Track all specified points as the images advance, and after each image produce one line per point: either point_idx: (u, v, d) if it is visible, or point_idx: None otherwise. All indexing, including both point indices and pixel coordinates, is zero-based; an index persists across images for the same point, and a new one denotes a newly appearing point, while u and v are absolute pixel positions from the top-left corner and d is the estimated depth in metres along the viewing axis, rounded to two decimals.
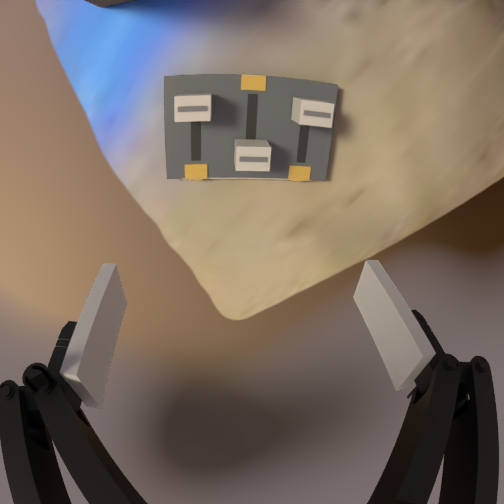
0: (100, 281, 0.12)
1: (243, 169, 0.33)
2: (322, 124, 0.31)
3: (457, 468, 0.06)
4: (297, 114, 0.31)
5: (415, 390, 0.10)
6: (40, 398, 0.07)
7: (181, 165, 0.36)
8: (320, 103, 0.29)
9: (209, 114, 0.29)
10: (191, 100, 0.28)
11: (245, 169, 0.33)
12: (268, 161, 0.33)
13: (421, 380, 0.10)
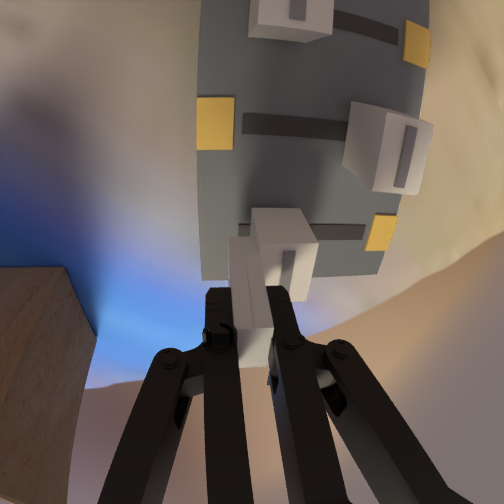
0: (235, 250, 0.15)
1: (419, 179, 0.13)
2: None
3: (373, 466, 0.07)
4: (299, 33, 0.10)
5: (270, 378, 0.11)
6: (210, 354, 0.10)
7: (364, 254, 0.21)
8: None
9: (304, 244, 0.14)
10: (266, 277, 0.15)
11: (420, 175, 0.13)
12: (415, 123, 0.11)
13: (269, 367, 0.11)
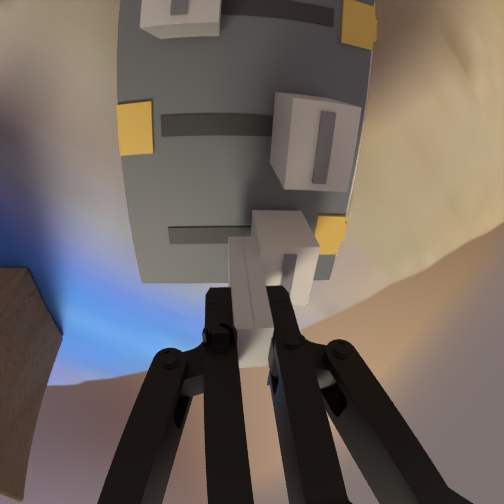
0: (235, 250, 0.15)
1: (347, 173, 0.12)
2: None
3: (373, 466, 0.07)
4: (193, 27, 0.09)
5: (270, 378, 0.11)
6: (210, 354, 0.10)
7: None
8: None
9: (305, 248, 0.14)
10: (267, 281, 0.15)
11: (348, 168, 0.12)
12: (334, 107, 0.10)
13: (269, 367, 0.11)
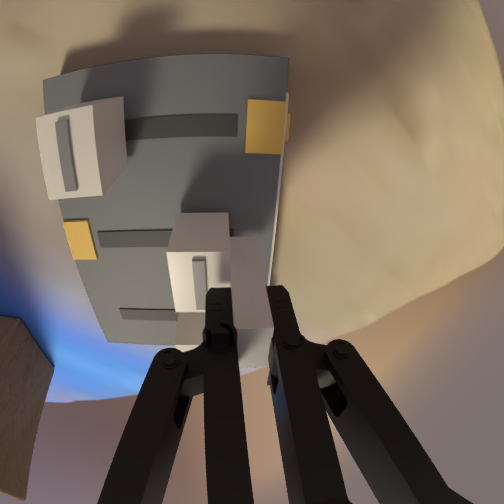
0: (235, 251, 0.15)
1: None
2: (88, 133, 0.10)
3: (373, 466, 0.07)
4: None
5: (270, 377, 0.11)
6: (210, 354, 0.10)
7: None
8: (43, 153, 0.10)
9: None
10: None
11: None
12: (203, 255, 0.13)
13: (269, 367, 0.11)
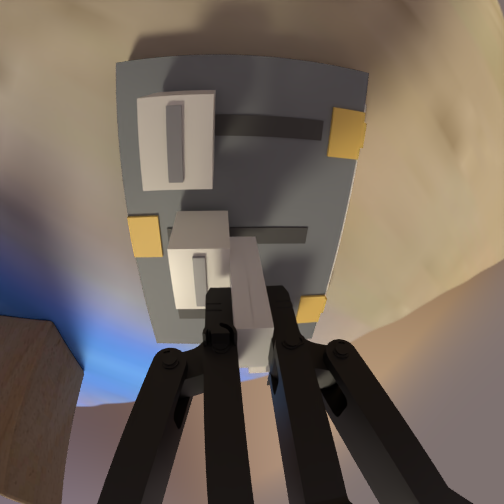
0: (235, 251, 0.15)
1: None
2: (205, 123, 0.10)
3: (373, 466, 0.07)
4: None
5: (270, 377, 0.11)
6: (210, 354, 0.10)
7: None
8: (143, 139, 0.10)
9: None
10: None
11: None
12: (203, 252, 0.14)
13: (269, 367, 0.11)
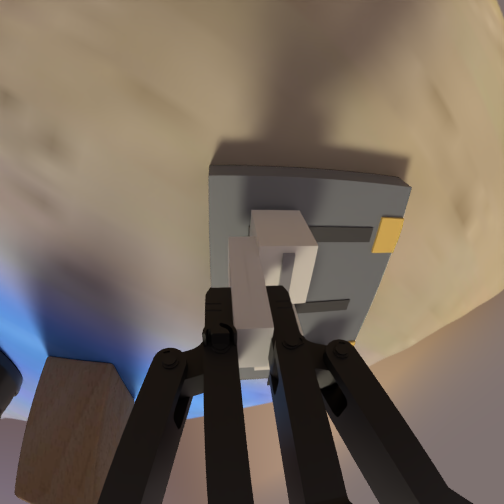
0: (235, 251, 0.15)
1: None
2: (309, 264, 0.15)
3: (373, 466, 0.07)
4: None
5: (270, 377, 0.11)
6: (210, 354, 0.10)
7: None
8: None
9: None
10: None
11: None
12: None
13: (269, 367, 0.11)
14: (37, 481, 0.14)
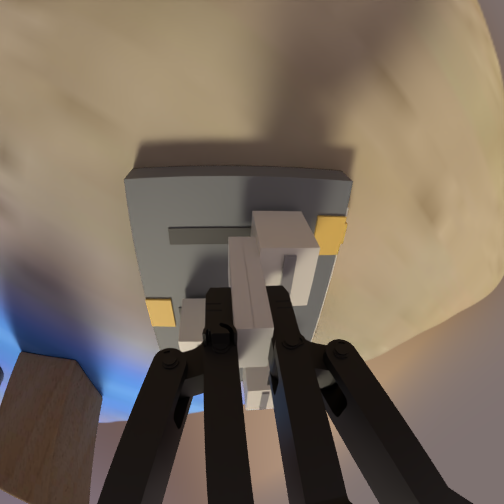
0: (235, 250, 0.15)
1: None
2: (310, 266, 0.15)
3: (373, 466, 0.07)
4: None
5: (270, 377, 0.11)
6: (210, 354, 0.10)
7: None
8: None
9: None
10: (252, 401, 0.23)
11: None
12: None
13: (269, 367, 0.11)
14: (3, 467, 0.14)
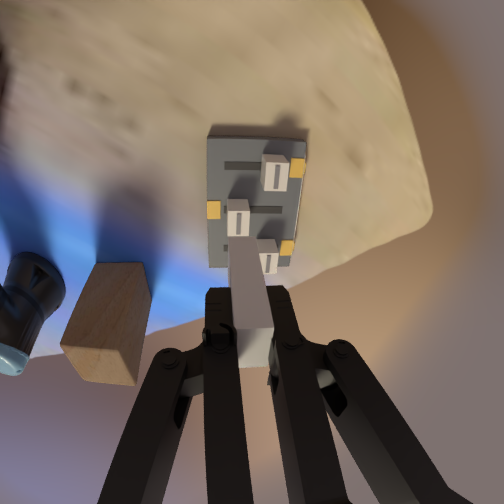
0: (235, 251, 0.15)
1: (247, 230, 0.41)
2: (286, 171, 0.37)
3: (373, 466, 0.07)
4: None
5: (270, 377, 0.11)
6: (210, 354, 0.10)
7: (280, 257, 0.50)
8: (266, 174, 0.37)
9: (273, 253, 0.44)
10: (261, 264, 0.45)
11: (247, 229, 0.41)
12: (240, 212, 0.39)
13: None
14: (81, 330, 0.35)
